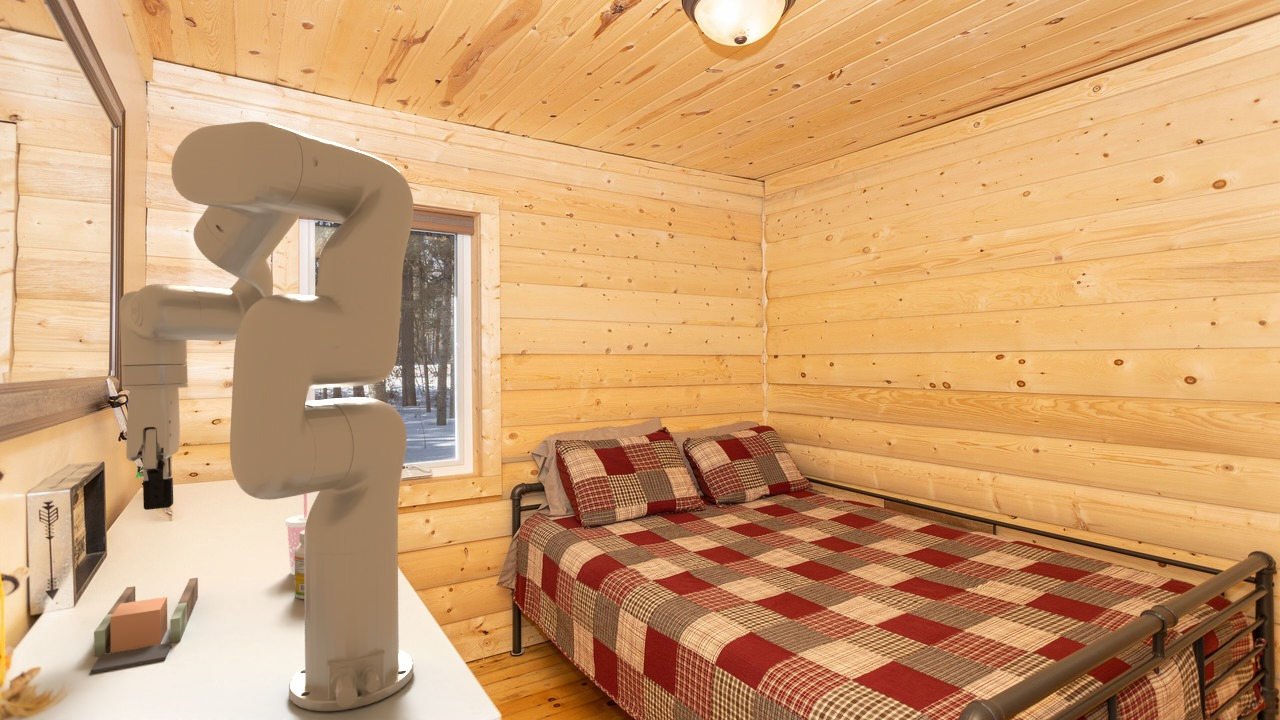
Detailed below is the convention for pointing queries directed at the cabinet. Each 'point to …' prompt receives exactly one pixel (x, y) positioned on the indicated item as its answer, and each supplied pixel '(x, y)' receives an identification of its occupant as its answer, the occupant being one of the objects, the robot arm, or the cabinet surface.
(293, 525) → the beverage cup
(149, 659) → the thin dark grey plate
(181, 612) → the pair of guide rails
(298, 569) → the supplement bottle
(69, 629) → the cabinet surface
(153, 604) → the block
